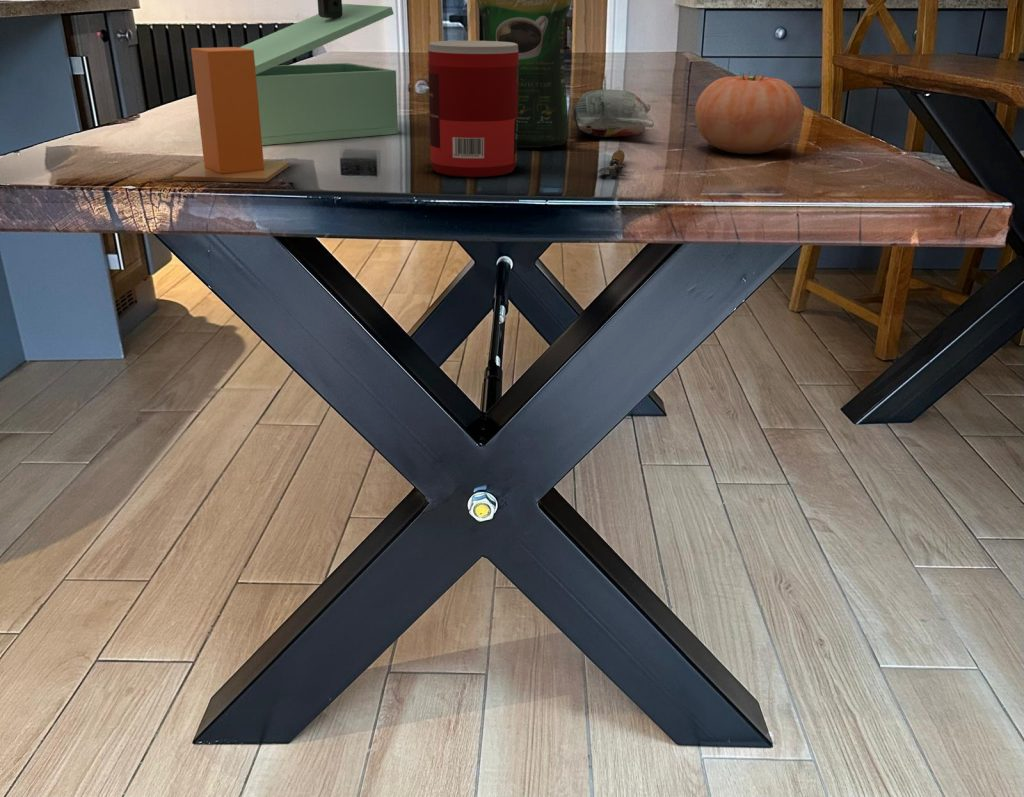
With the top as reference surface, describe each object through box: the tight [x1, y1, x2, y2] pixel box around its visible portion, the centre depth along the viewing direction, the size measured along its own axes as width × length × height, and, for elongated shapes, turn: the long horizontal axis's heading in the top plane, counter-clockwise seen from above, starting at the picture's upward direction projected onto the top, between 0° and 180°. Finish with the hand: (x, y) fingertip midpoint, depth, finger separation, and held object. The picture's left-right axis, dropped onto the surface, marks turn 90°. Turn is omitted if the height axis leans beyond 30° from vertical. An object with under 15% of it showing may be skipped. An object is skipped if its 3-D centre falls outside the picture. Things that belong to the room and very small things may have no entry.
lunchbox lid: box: [238, 3, 394, 74], centre depth 104 cm, size 17×12×1 cm, turn 127°
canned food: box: [427, 40, 519, 178], centre depth 86 cm, size 8×8×11 cm
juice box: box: [190, 46, 265, 174], centre depth 83 cm, size 4×4×10 cm
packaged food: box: [573, 88, 655, 138], centre depth 108 cm, size 9×12×5 cm
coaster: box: [172, 159, 290, 183], centre depth 85 cm, size 8×8×1 cm
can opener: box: [598, 149, 627, 177], centre depth 88 cm, size 9×2×1 cm, turn 163°
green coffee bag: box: [476, 0, 572, 149], centre depth 99 cm, size 10×8×19 cm
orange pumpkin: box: [694, 71, 803, 155], centre depth 98 cm, size 11×11×8 cm
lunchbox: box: [256, 62, 399, 146], centre depth 106 cm, size 17×12×7 cm
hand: (330, 17), depth 105 cm, fingers closed
